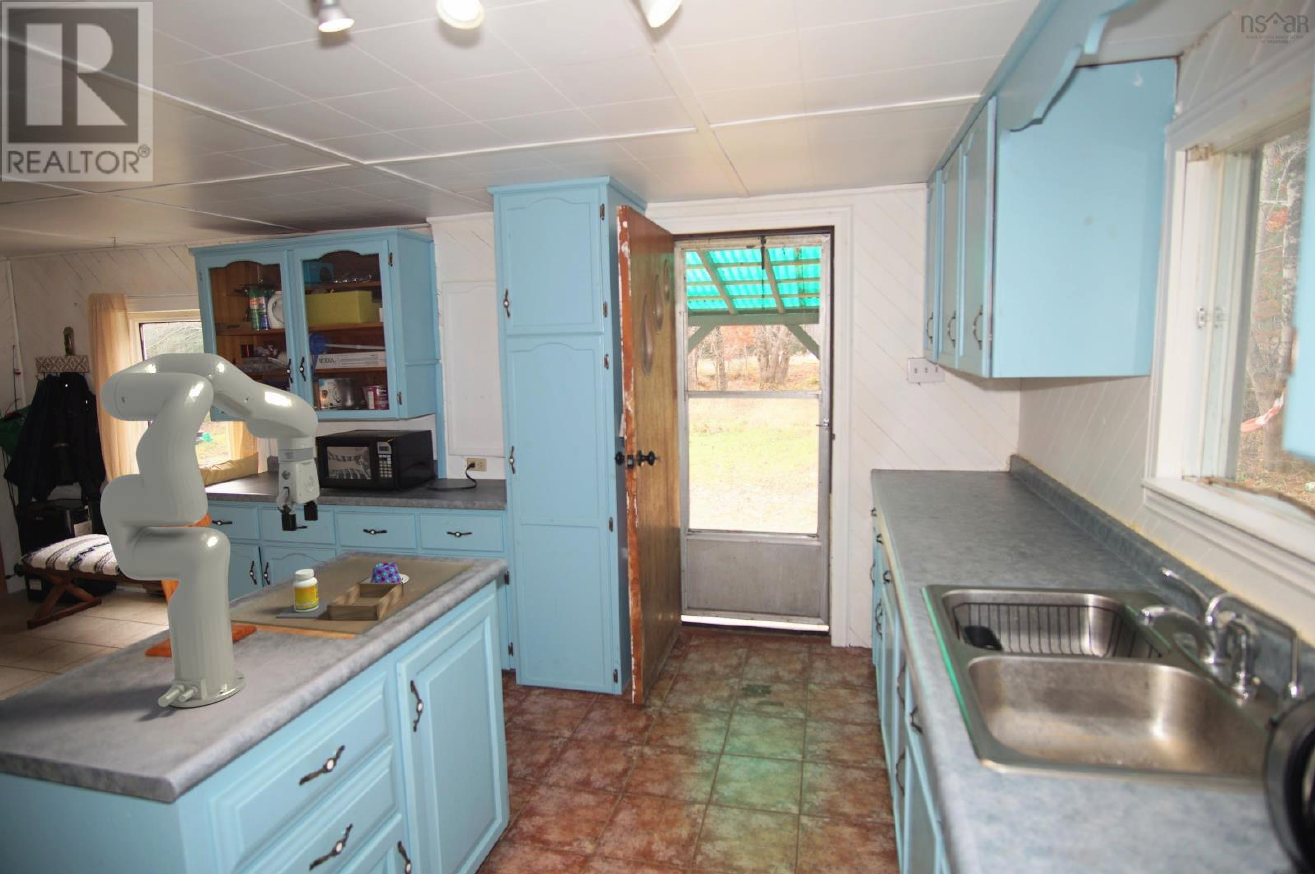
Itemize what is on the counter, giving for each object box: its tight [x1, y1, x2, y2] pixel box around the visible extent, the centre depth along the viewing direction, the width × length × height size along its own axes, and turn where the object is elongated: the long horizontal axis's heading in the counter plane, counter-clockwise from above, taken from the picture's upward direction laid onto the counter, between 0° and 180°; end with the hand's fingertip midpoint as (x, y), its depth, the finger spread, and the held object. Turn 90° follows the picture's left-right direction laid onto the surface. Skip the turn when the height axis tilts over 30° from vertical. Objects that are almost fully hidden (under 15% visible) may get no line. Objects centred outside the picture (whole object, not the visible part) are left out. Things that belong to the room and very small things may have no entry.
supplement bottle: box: [292, 568, 320, 613], centre depth 169 cm, size 5×5×10 cm
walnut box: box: [326, 582, 405, 621], centre depth 172 cm, size 16×12×4 cm
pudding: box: [362, 561, 410, 584], centre depth 190 cm, size 12×12×5 cm
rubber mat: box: [275, 600, 334, 619], centre depth 170 cm, size 10×10×1 cm
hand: (300, 525), depth 167 cm, fingers open, 9 cm apart
